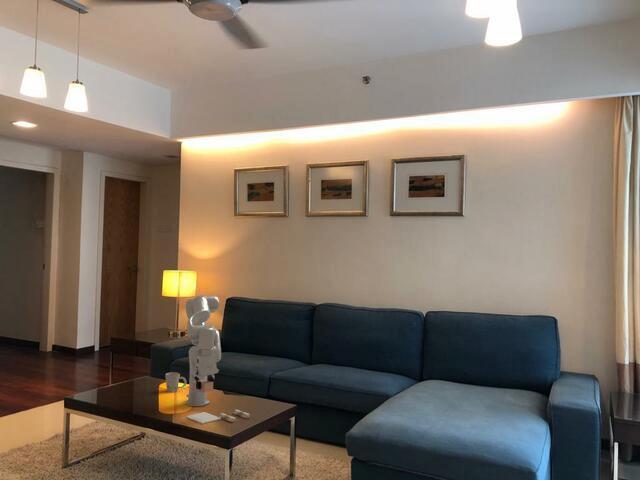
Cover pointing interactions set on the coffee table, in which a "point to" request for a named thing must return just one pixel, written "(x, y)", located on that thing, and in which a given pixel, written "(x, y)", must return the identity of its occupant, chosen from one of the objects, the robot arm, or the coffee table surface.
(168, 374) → the mug
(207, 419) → the mat
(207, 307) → the robot arm
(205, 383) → the block
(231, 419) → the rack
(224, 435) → the coffee table surface
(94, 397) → the coffee table surface
